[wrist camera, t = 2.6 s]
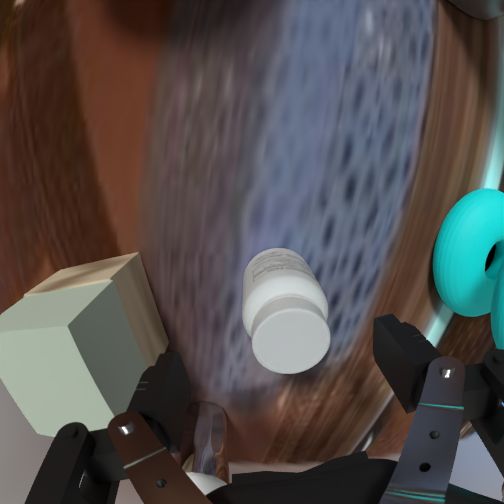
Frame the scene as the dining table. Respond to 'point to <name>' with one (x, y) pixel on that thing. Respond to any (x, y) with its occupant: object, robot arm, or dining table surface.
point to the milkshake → (205, 447)
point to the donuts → (473, 258)
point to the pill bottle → (284, 312)
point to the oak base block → (130, 292)
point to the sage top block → (70, 357)
